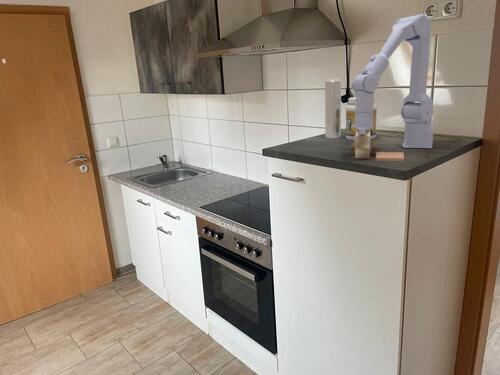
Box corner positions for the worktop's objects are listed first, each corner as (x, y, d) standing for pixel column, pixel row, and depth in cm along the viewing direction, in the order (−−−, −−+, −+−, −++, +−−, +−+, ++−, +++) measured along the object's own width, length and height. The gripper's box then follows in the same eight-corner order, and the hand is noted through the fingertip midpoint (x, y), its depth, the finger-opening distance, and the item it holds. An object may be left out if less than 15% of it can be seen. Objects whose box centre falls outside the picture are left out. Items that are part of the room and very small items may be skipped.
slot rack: (377, 147, 143) (377, 140, 142) (376, 155, 130) (376, 147, 130) (353, 147, 146) (353, 140, 145) (350, 154, 133) (350, 147, 132)
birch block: (370, 152, 129) (370, 130, 125) (369, 158, 126) (369, 136, 122) (356, 152, 131) (356, 130, 127) (355, 158, 127) (355, 136, 123)
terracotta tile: (403, 155, 127) (403, 152, 127) (404, 161, 119) (404, 158, 119) (376, 155, 130) (376, 152, 130) (375, 160, 122) (375, 157, 122)
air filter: (333, 139, 166) (333, 78, 159) (322, 137, 171) (322, 79, 164) (343, 136, 169) (344, 77, 162) (332, 135, 174) (332, 78, 167)
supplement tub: (341, 137, 168) (342, 98, 163) (368, 135, 169) (369, 96, 164) (351, 142, 156) (352, 99, 151) (380, 140, 157) (382, 97, 152)
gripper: (353, 109, 135) (352, 148, 139) (349, 114, 122) (349, 156, 126) (374, 109, 133) (373, 148, 136) (373, 114, 119) (371, 156, 123)
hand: (363, 152), depth 131 cm, fingers closed
